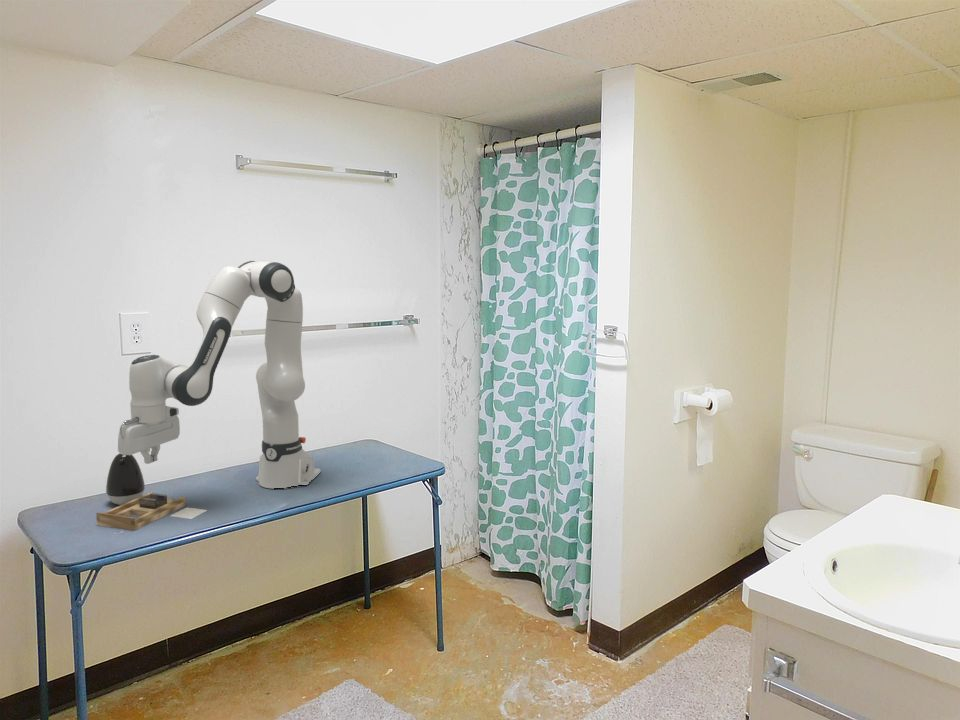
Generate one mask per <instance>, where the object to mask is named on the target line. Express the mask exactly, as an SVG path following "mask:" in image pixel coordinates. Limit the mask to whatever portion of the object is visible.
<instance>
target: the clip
mask: <svg viewBox="0 0 960 720" xmlns="http://www.w3.org/2000/svg"><path fill="white" fill-rule="evenodd" d="M167 498H168V495H167V494H162V493H154V492H153V493H151V494H150V498H140V499H139V502H140V507H142V508H149V509H156V508H158V507H160V506H163V505H165V504H167Z"/></svg>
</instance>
